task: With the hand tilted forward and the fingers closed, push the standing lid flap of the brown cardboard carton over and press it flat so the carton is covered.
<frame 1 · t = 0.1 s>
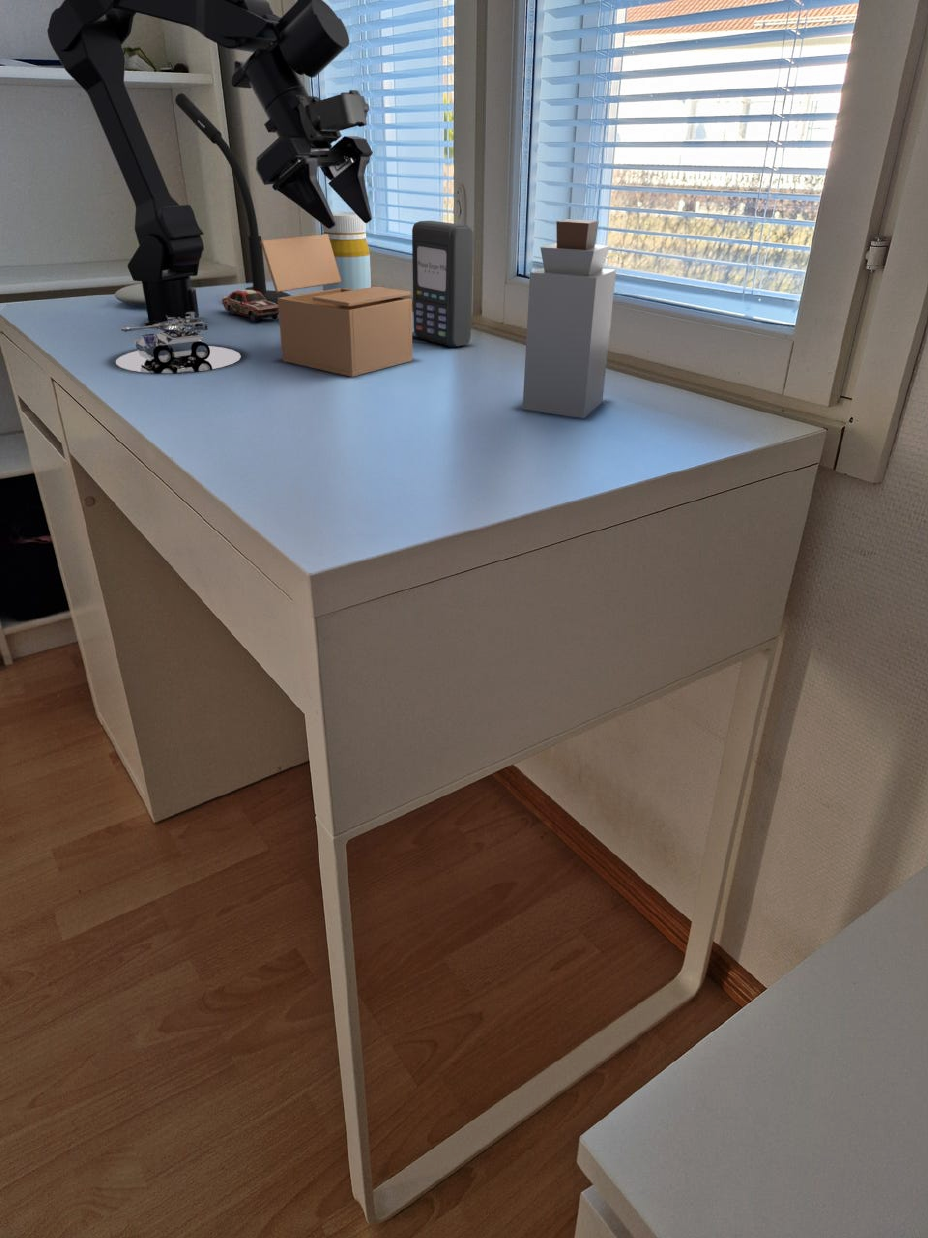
hand: (351, 223, 106), 15 cm above the table, tool tilted 35°, fingers open, 9 cm apart
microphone: (248, 297, 145), on the table
card reader: (440, 342, 116), on the table
bottle: (348, 325, 126), on the table
carton: (348, 360, 106), on the table
perfume bottle: (562, 407, 90), on the table
lid flap: (302, 262, 104), point 11 cm above the table, hinge at 110.0°
race car: (252, 317, 129), on the table
cushion: (155, 304, 137), on the table
toy car: (179, 359, 105), on the table
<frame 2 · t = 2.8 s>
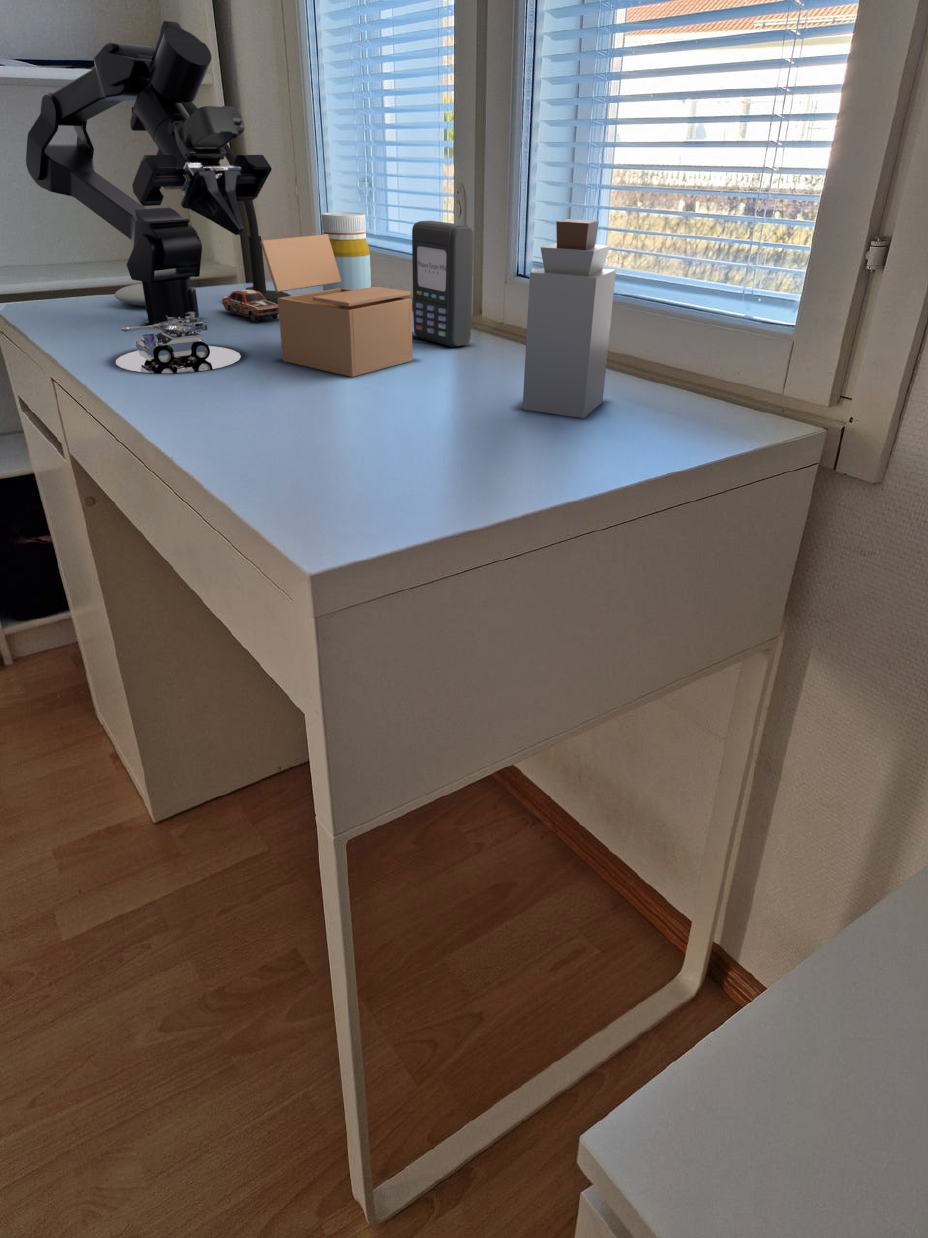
hand: (239, 232, 108), 14 cm above the table, tool tilted 45°, fingers closed
nothing on the table moved.
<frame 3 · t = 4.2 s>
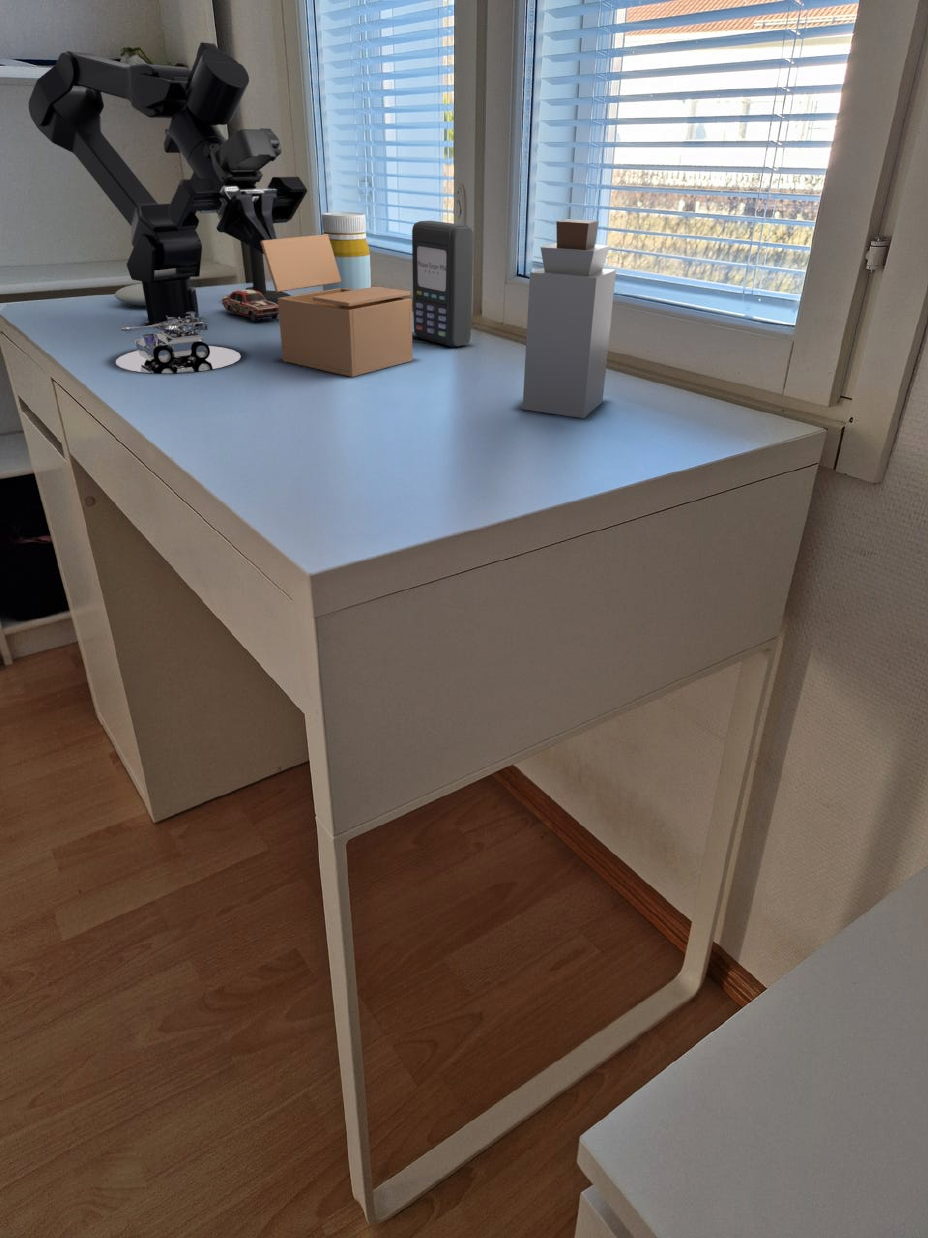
hand: (276, 256, 106), 11 cm above the table, tool tilted 45°, fingers closed
nothing on the table moved.
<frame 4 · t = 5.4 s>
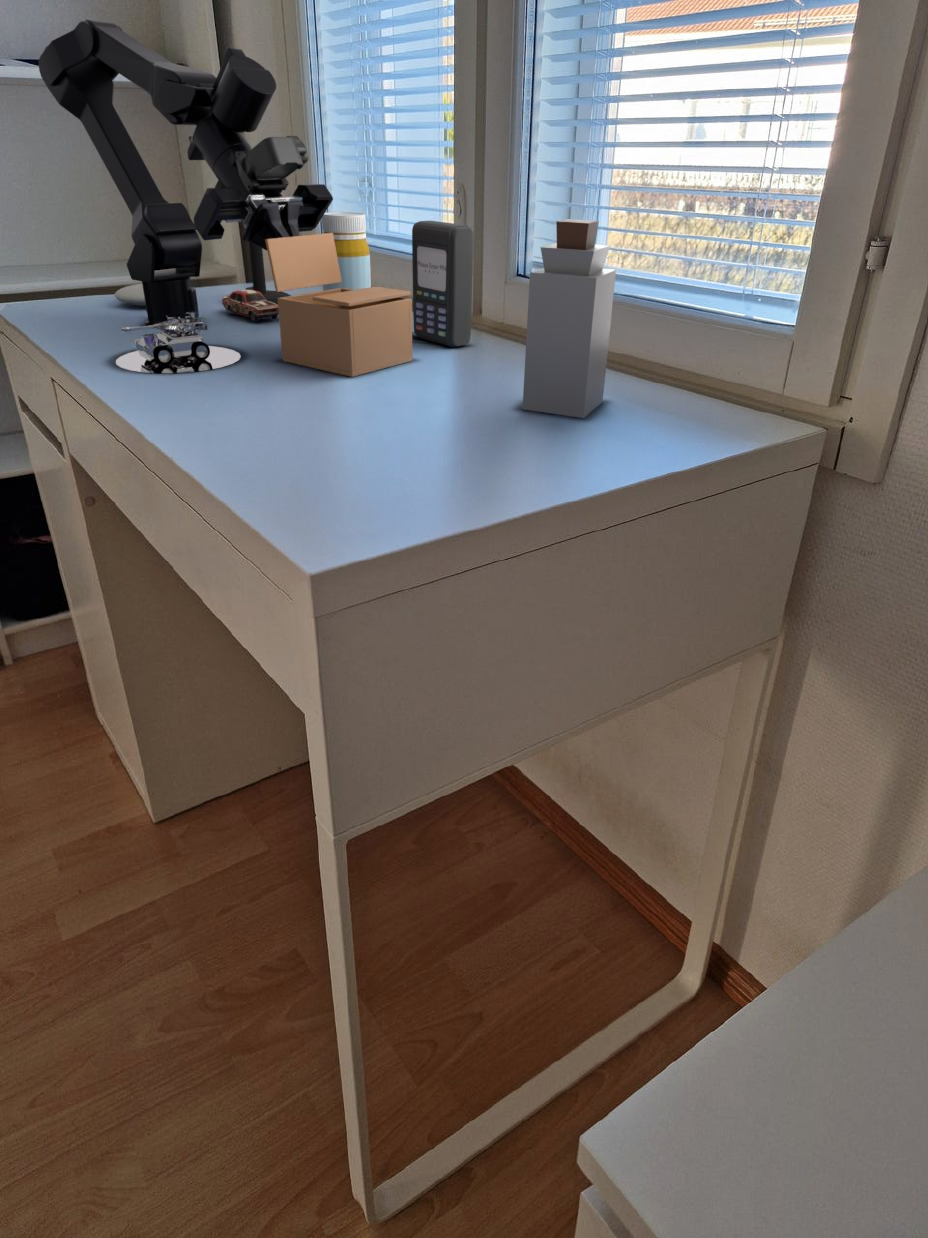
hand: (303, 266, 104), 10 cm above the table, tool tilted 45°, fingers closed, pressing on lid flap
lid flap: (305, 261, 103), point 11 cm above the table, hinge at 100.7°, touching gripper
everything else where it was.
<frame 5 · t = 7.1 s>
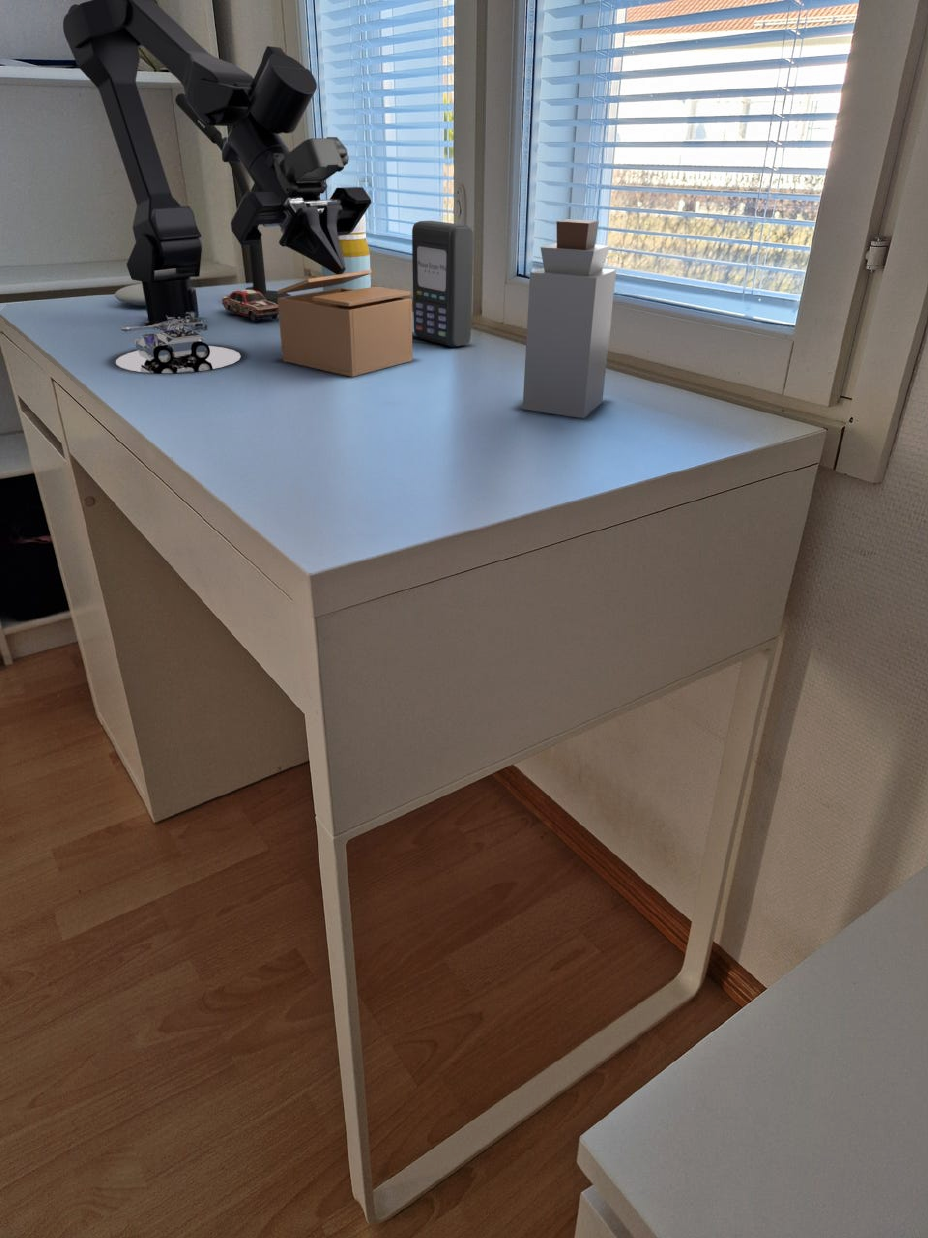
hand: (342, 271, 100), 10 cm above the table, tool tilted 45°, fingers closed, pressing on lid flap
lid flap: (325, 281, 103), point 9 cm above the table, hinge at 18.8°, touching gripper
everything else where it was.
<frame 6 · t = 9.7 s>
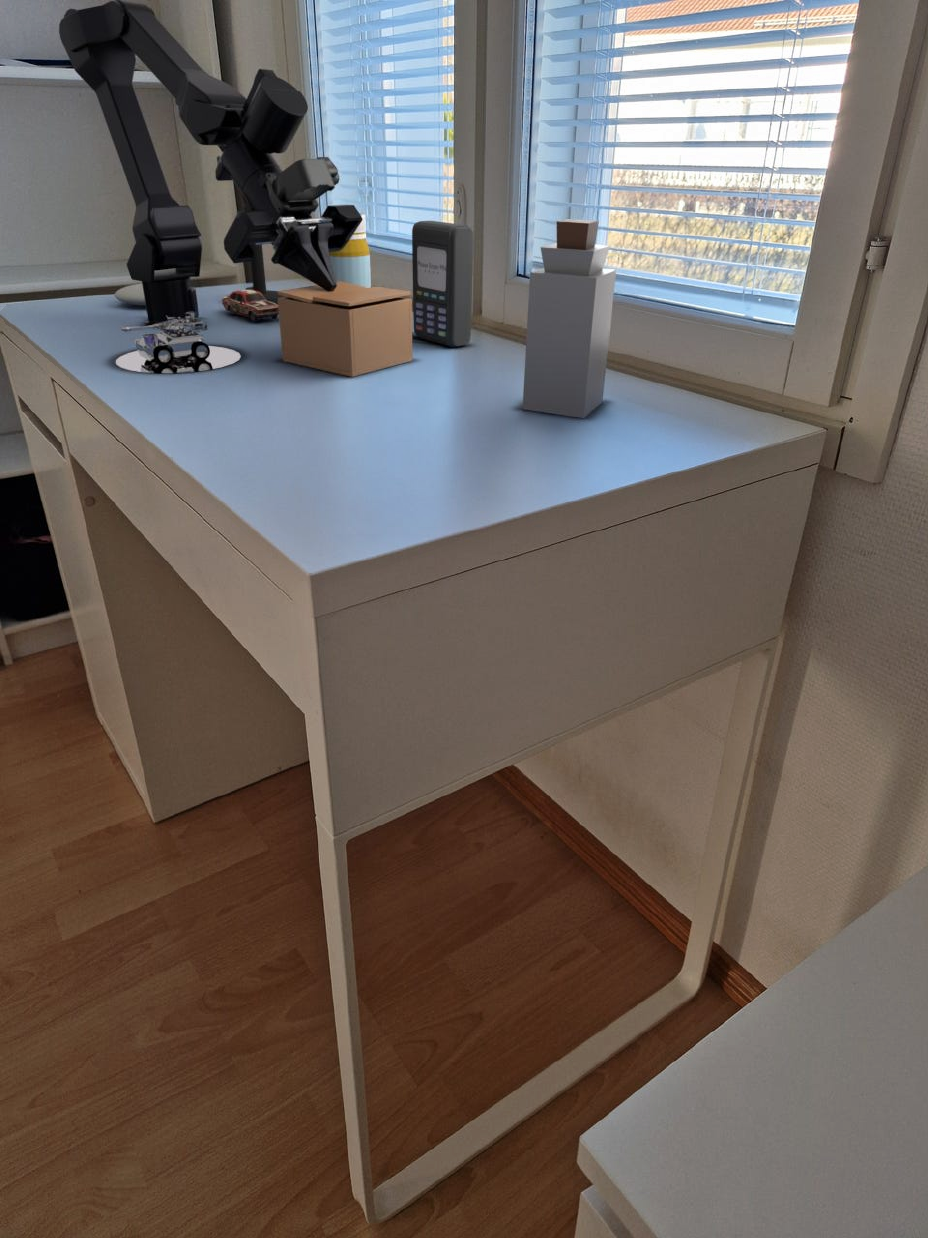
hand: (333, 288, 102), 8 cm above the table, tool tilted 45°, fingers closed, pressing on lid flap
lid flap: (327, 291, 103), point 8 cm above the table, hinge at -3.5°, touching gripper
everything else where it was.
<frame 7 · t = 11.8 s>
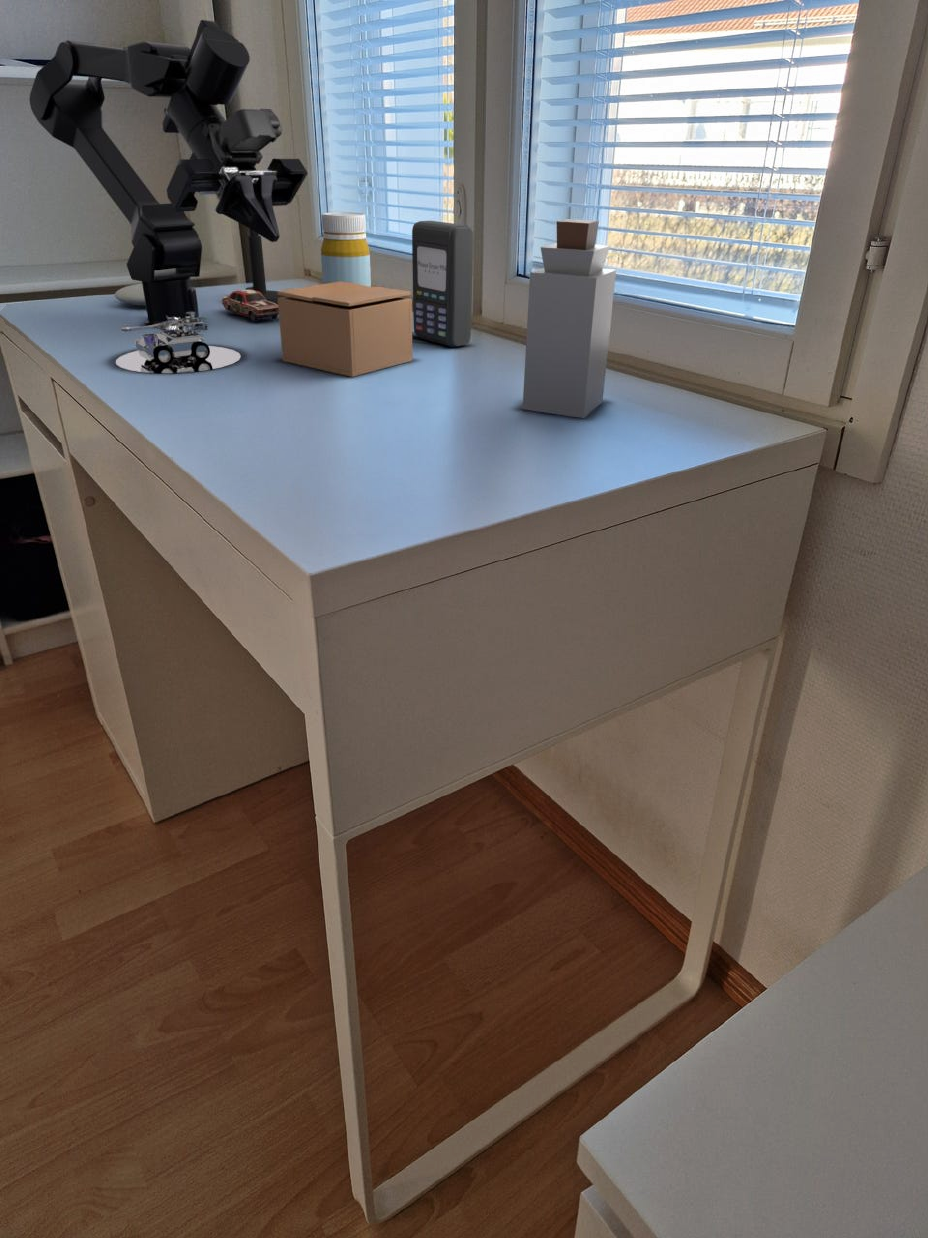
hand: (276, 239, 105), 13 cm above the table, tool tilted 45°, fingers closed
lid flap: (327, 290, 103), point 8 cm above the table, hinge at -1.4°
everything else where it was.
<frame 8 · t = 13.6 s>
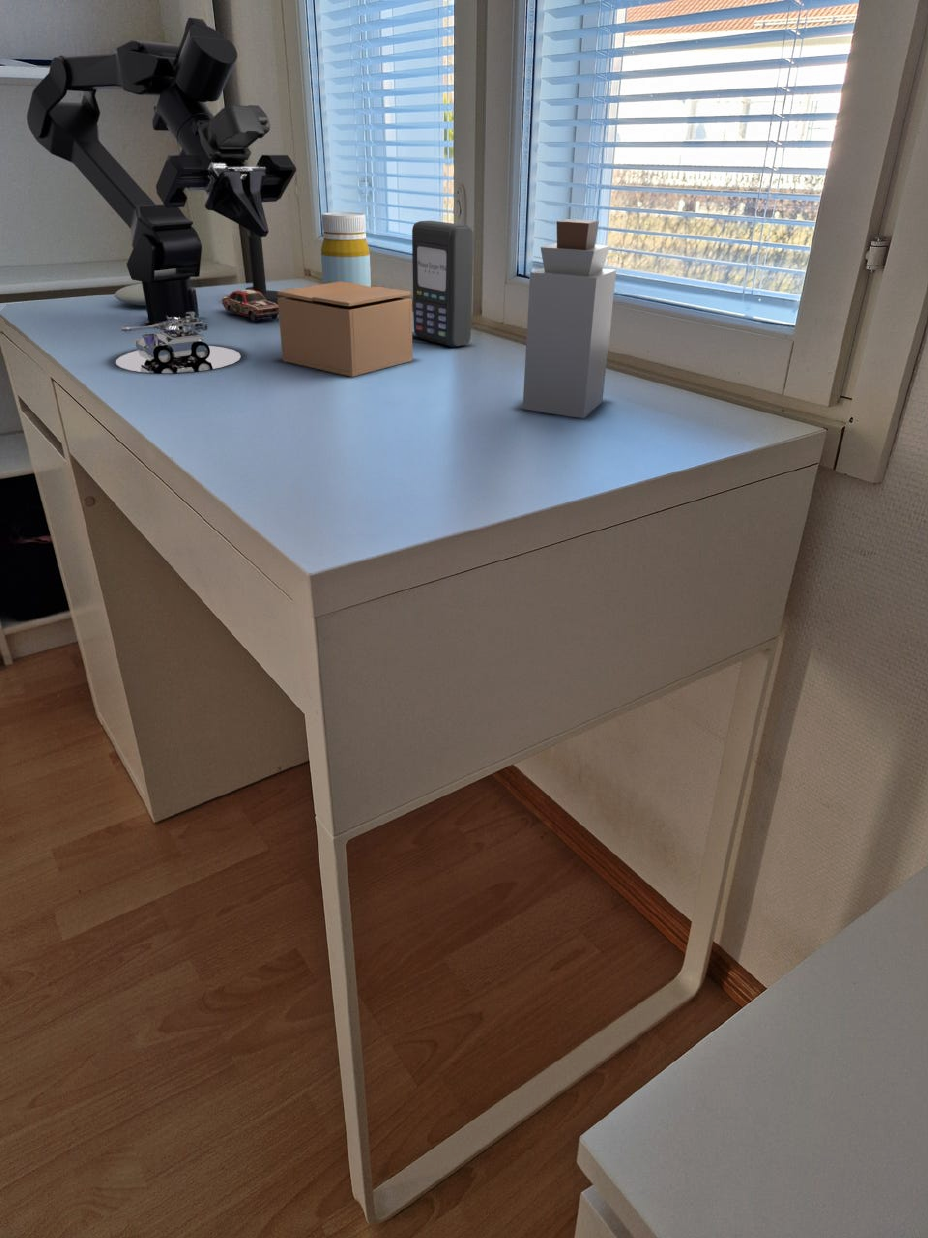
hand: (265, 234, 106), 14 cm above the table, tool tilted 45°, fingers closed
nothing on the table moved.
at the end: lid flap at -1° (first picture: +110°) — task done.
